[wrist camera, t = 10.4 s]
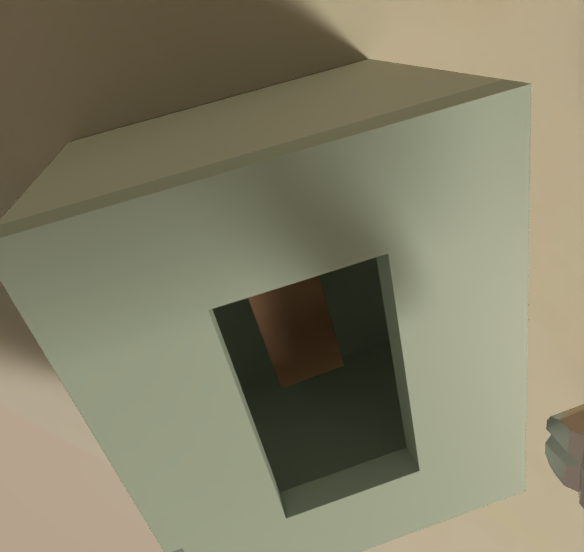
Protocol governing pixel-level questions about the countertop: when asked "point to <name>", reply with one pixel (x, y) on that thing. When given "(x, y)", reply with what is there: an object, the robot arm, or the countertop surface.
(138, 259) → the coin box
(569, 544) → the countertop surface
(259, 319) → the block
